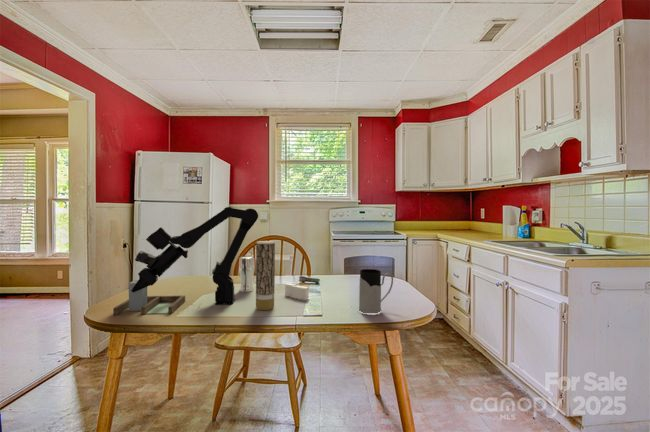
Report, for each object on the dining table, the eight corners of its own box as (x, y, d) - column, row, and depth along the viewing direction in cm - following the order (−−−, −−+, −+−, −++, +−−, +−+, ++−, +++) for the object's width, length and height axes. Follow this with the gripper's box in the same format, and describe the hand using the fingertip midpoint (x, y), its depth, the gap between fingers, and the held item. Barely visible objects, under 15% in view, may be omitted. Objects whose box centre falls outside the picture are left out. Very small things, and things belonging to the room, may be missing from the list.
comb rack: (185, 301, 130) (185, 295, 130) (172, 313, 115) (172, 306, 115) (133, 302, 128) (133, 296, 128) (113, 315, 113) (113, 308, 113)
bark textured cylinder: (258, 312, 118) (259, 242, 118) (253, 307, 124) (254, 241, 124) (276, 309, 121) (277, 242, 121) (270, 304, 127) (271, 240, 127)
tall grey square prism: (147, 306, 123) (147, 280, 122) (142, 310, 118) (142, 283, 118) (134, 306, 122) (134, 280, 122) (128, 310, 118) (128, 283, 117)
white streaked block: (250, 292, 145) (250, 258, 145) (236, 291, 147) (236, 258, 146) (256, 288, 152) (257, 256, 152) (242, 288, 153) (243, 256, 153)
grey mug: (353, 309, 123) (354, 269, 122) (385, 305, 128) (386, 267, 128) (365, 316, 115) (366, 274, 114) (399, 312, 120) (399, 271, 120)
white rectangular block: (314, 301, 134) (315, 287, 134) (287, 304, 131) (288, 289, 130) (304, 292, 149) (304, 280, 148) (279, 294, 145) (279, 281, 144)
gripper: (154, 241, 130) (123, 270, 127) (145, 246, 112) (107, 280, 109) (176, 260, 132) (145, 289, 129) (170, 268, 115) (134, 302, 111)
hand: (134, 289), depth 120 cm, fingers closed on tall grey square prism, 5 cm apart
